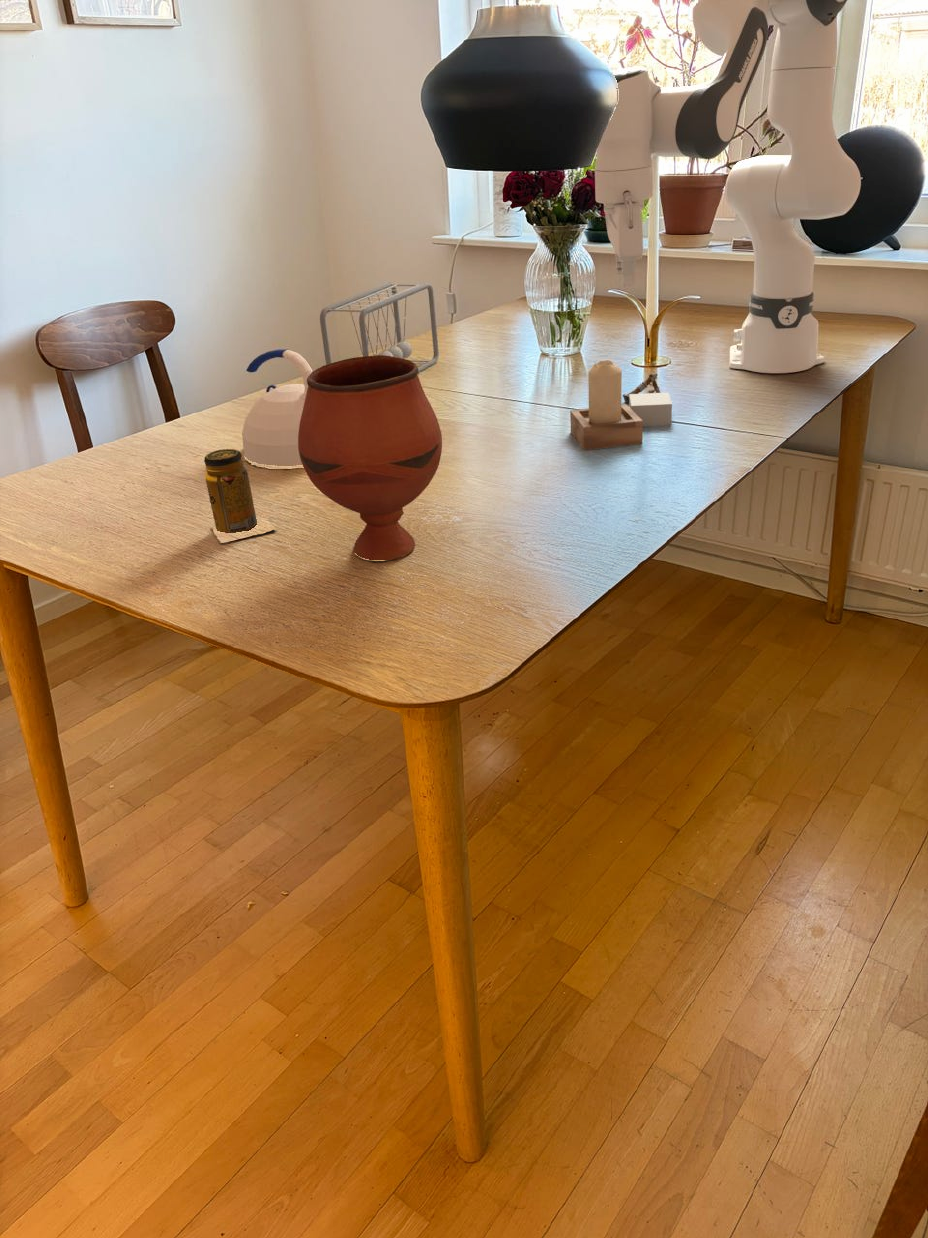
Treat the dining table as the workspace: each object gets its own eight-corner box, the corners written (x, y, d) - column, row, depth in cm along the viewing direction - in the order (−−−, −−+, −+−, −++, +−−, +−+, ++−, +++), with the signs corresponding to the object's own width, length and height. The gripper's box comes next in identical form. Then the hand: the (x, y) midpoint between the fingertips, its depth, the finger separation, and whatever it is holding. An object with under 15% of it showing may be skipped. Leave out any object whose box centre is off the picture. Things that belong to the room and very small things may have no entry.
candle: (620, 425, 165) (620, 366, 160) (587, 425, 166) (586, 367, 162) (622, 415, 170) (622, 357, 165) (590, 415, 171) (589, 358, 166)
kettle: (301, 478, 163) (283, 370, 155) (219, 459, 175) (198, 358, 166) (381, 441, 177) (369, 340, 168) (300, 426, 189) (285, 331, 180)
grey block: (629, 415, 180) (629, 394, 178) (667, 413, 179) (668, 392, 177) (631, 427, 174) (631, 405, 172) (671, 426, 173) (672, 403, 171)
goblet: (382, 511, 148) (362, 344, 136) (481, 538, 137) (468, 358, 125) (286, 558, 136) (254, 379, 124) (385, 592, 124) (361, 399, 112)
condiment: (210, 528, 147) (194, 451, 141) (266, 516, 150) (252, 440, 144) (220, 545, 141) (203, 466, 136) (277, 532, 144) (263, 454, 138)
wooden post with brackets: (665, 390, 188) (658, 370, 186) (635, 415, 187) (628, 395, 184) (659, 388, 190) (652, 369, 187) (629, 412, 188) (622, 393, 186)
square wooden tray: (570, 432, 173) (570, 410, 172) (625, 425, 174) (626, 403, 172) (584, 450, 165) (583, 427, 163) (642, 443, 166) (642, 420, 164)
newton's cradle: (400, 359, 228) (392, 280, 220) (440, 361, 224) (433, 280, 215) (329, 396, 205) (317, 309, 197) (372, 399, 201) (361, 310, 192)
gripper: (652, 194, 144) (652, 291, 151) (637, 177, 161) (637, 265, 168) (609, 198, 144) (611, 295, 151) (598, 181, 162) (600, 268, 169)
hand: (625, 279), depth 160 cm, fingers open, 8 cm apart
